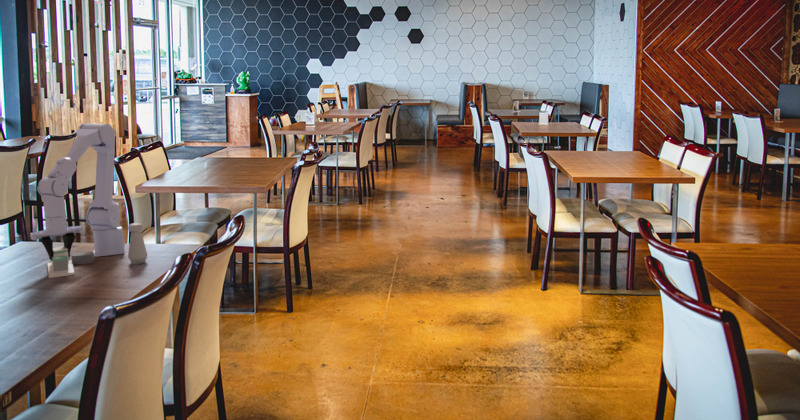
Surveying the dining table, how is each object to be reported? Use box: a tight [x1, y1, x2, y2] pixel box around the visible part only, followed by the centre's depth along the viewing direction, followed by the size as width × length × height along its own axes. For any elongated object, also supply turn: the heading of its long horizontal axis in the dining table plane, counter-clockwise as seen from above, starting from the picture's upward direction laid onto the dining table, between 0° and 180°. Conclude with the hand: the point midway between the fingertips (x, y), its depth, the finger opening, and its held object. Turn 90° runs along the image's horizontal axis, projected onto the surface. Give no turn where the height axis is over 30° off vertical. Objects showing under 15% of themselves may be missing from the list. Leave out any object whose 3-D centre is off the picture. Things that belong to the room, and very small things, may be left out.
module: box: [50, 245, 69, 265], centre depth 209 cm, size 4×4×5 cm
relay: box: [71, 251, 94, 266], centre depth 219 cm, size 6×4×3 cm, turn 111°
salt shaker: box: [127, 222, 148, 265], centre depth 217 cm, size 6×6×13 cm
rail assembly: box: [47, 256, 75, 279], centre depth 210 cm, size 7×15×5 cm, turn 28°
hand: (59, 258), depth 209 cm, fingers closed on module, 4 cm apart
